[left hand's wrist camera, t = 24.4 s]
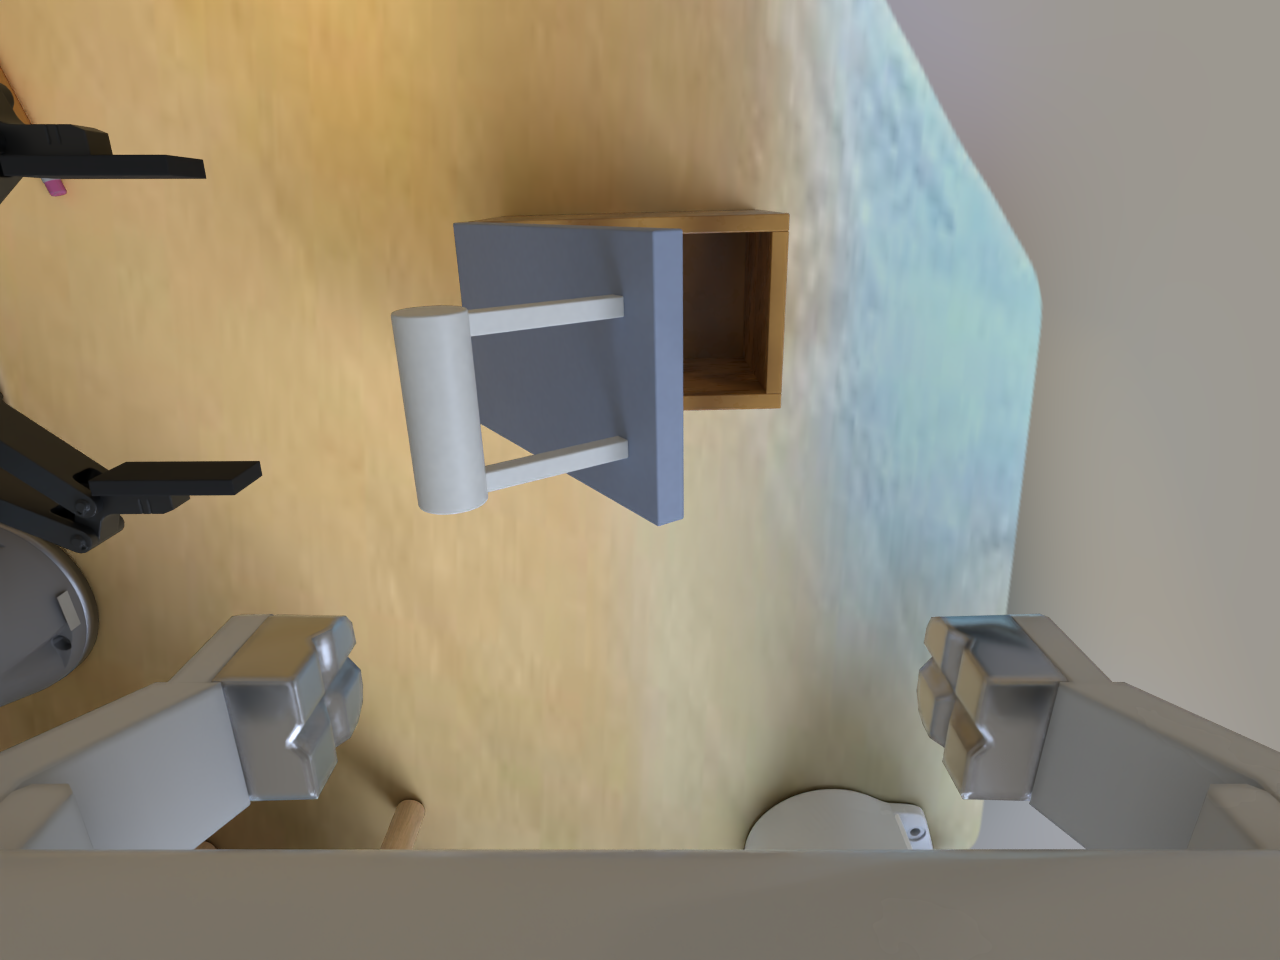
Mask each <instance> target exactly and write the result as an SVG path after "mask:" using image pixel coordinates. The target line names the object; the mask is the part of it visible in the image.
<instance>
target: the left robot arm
mask: <svg viewBox="0 0 1280 960" xmlns="http://www.w3.org/2000/svg"><path fill="white" fill-rule="evenodd" d="M355 644H356V640H355V635H354V630H353V625H352V622H351V621H350V620H349V619H348V618H347V617H346V616H329V615H279V614H277V615H273V614H242V615H237V616H232V617H231V618H230V619H229V620H228V621H227V622H226V623H225V624H224V625H223V626H222V627H221V628H220V629H219V630H218V631H217V632H216V633H215V634H214V635H213V636H212V637H211V638H210V639H209V640H208V641H207V642H206V643H205V645H204V646H203V647H202V648H201V649H200V650H199V651H198V652H197V653H196V654H195V655H194V656H193V657H192V658H191V659H190V660H189V661H188V662H187V663H186V664H185V665H184V666H183V667H182V668H181V669H180V670H179V671H178V672H177V673H176V674H175V675H174V676H173V677H172V678H171V679H170V680H169V681H168V682H155V683H153V684H151V685H148V686H146V687H144V688H142V689H139V690H137V691H135V692H133V693H131V694H128V695H126V696H124V697H122V698H119V699H117V700H115V701H113V702H111V703H108V704H106V705H104V706H102V707H99V708H97V709H95V710H93V711H91V712H88V713H86V714H84V715H82V716H80V717H77V718H75V719H73V720H71V721H68V722H66V723H64V724H62V725H60V726H57V727H55V728H53V729H51V730H48V731H46V732H44V733H42V734H40V735H37V736H35V737H33V738H31V739H28V740H26V741H24V742H22V743H20V744H17V745H15V746H13V747H11V748H8V749H6V750H4V751H2V752H0V960H1280V752H1278V751H1276V750H1273V749H1271V748H1269V747H1267V746H1264V745H1262V744H1260V743H1258V742H1256V741H1253V740H1251V739H1249V738H1247V737H1245V736H1242V735H1240V734H1238V733H1236V732H1233V731H1231V730H1229V729H1227V728H1225V727H1222V726H1220V725H1218V724H1216V723H1214V722H1211V721H1209V720H1207V719H1205V718H1202V717H1200V716H1198V715H1196V714H1194V713H1191V712H1189V711H1187V710H1185V709H1183V708H1180V707H1178V706H1176V705H1174V704H1172V703H1169V702H1167V701H1165V700H1163V699H1160V698H1158V697H1156V696H1154V695H1152V694H1149V693H1147V692H1145V691H1143V690H1141V689H1138V688H1136V687H1134V686H1132V685H1129V684H1127V683H1125V682H1112V681H1111V680H1110V679H1109V678H1108V677H1107V676H1106V675H1105V674H1104V673H1103V672H1102V671H1101V670H1100V669H1099V668H1098V667H1097V666H1096V665H1095V664H1094V663H1093V662H1092V661H1091V660H1090V659H1089V658H1088V657H1087V656H1086V655H1085V654H1084V653H1083V652H1082V650H1081V649H1080V648H1079V647H1078V646H1077V645H1076V644H1075V643H1074V642H1073V641H1072V640H1071V639H1070V638H1069V637H1068V636H1067V635H1066V634H1065V633H1064V632H1063V631H1062V630H1061V629H1060V628H1059V627H1058V626H1057V625H1056V624H1055V623H1054V622H1053V621H1052V620H1051V619H1050V618H1049V617H1047V616H1044V615H1042V614H1018V615H987V616H947V617H931V619H930V621H929V623H928V626H927V628H926V634H925V639H924V644H925V646H926V647H927V649H928V650H929V652H930V654H931V655H932V658H931V659H930V660H929V661H928V662H927V663H926V664H925V665H924V666H923V667H922V668H921V669H920V670H919V677H918V685H917V699H918V710H919V713H920V717H921V720H922V723H923V726H924V728H925V730H926V732H927V734H928V736H929V737H930V738H931V739H932V740H934V741H935V742H937V743H938V744H940V745H941V746H943V747H944V748H945V749H944V755H943V760H942V762H943V764H944V766H945V767H946V769H947V771H948V773H949V775H950V777H951V778H952V780H953V782H954V784H955V786H956V788H957V789H958V791H959V793H960V795H961V797H962V799H978V800H1015V801H1030V802H1029V804H1030V805H1031V806H1032V807H1034V808H1035V809H1036V810H1038V811H1039V812H1040V813H1041V814H1043V815H1044V816H1045V817H1046V818H1048V819H1049V820H1050V821H1052V822H1053V823H1054V824H1055V825H1056V826H1058V827H1059V828H1060V829H1062V830H1063V831H1064V832H1065V833H1067V834H1068V835H1069V836H1070V837H1072V838H1073V839H1074V840H1075V841H1077V842H1078V843H1079V844H1080V845H1082V846H1083V847H1084V848H1086V849H989V850H988V849H982V850H981V849H974V850H973V849H933V846H932V842H931V837H930V833H929V829H928V825H927V821H926V818H925V815H924V812H923V810H922V809H921V808H920V807H918V806H916V805H911V804H901V803H887V802H884V801H881V800H878V799H876V798H873V797H871V796H869V795H866V794H863V793H860V792H856V791H851V790H843V789H823V790H815V791H810V792H805V793H802V794H799V795H796V796H793V797H790V798H788V799H786V800H784V801H782V802H780V803H779V804H777V805H775V806H774V807H772V808H771V809H770V810H768V811H767V812H766V813H765V814H764V815H763V816H762V817H761V818H760V819H759V820H758V821H757V822H756V824H755V825H754V826H753V828H752V830H751V831H750V833H749V835H748V838H747V841H746V845H745V850H482V849H195V848H196V847H197V846H199V845H200V844H201V843H202V842H204V841H205V840H206V839H207V838H209V837H210V836H211V835H212V834H214V833H215V832H216V831H217V830H219V829H220V828H221V827H223V826H224V825H225V824H226V823H228V822H229V821H230V820H231V819H233V818H234V817H235V816H236V815H238V814H239V813H240V812H242V811H243V810H244V809H245V808H247V807H248V806H249V805H250V804H251V803H250V801H265V800H300V799H318V797H319V795H320V793H321V791H322V790H323V788H324V786H325V784H326V782H327V780H328V778H329V777H330V775H331V773H332V771H333V769H334V767H335V766H336V764H337V762H338V760H337V755H336V749H335V748H336V747H337V746H339V745H340V744H342V743H343V742H345V741H346V740H348V739H349V738H350V737H351V736H352V734H353V732H354V730H355V728H356V726H357V724H358V721H359V716H360V712H361V707H362V703H363V682H362V676H361V670H360V669H359V668H358V667H357V666H356V665H355V664H354V663H353V662H352V661H351V660H350V659H349V658H348V655H349V654H350V652H351V650H352V649H353V647H354V646H355Z"/></svg>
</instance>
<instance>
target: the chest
mask: <svg viewBox="0 0 1280 960" xmlns="http://www.w3.org/2000/svg"><path fill="white" fill-rule="evenodd" d="M789 217H790V215H789V214H788V213H780V212H772V211H763V210H728V211H690V212H652V213H614V214H576V215H538V216H504V217H497V218H491V219H484V220H478V221H471V222H492V223H523V224H553V225H584V226H615V227H646V228H676V229H682V231H683V411H687V410H729V409H771V408H781V391H782V369H783V348H784V326H785V305H786V283H787V261H788V240H789V231H788V230H789Z"/></svg>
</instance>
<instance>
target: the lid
mask: <svg viewBox="0 0 1280 960" xmlns="http://www.w3.org/2000/svg"><path fill="white" fill-rule="evenodd" d="M453 227H454V236H455V245H456V254H457V263H458V272H459V281H460V290H461V299H462V307H461V306H446V305H443V306H422V307H413V308H406V309H401V310H397V311H394V312H392V313H391V320H392V327H393V334H394V341H395V347H396V354H397V361H398V368H399V375H400V382H401V389H402V395H403V402H404V409H405V416H406V423H407V430H408V437H409V443H410V450H411V457H412V464H413V471H414V478H415V485H416V491H417V498H418V505H419V507H420V508H421V509H422V510H423V511H425V512H428V513H432V514H443V515H444V514H457V513H462V512H467V511H470V510H473V509H476V508H478V507H480V506H481V505H483V504H484V503H485V502H486V501H487V499H488V492H491V491H495V490H499V489H503V488H507V487H511V486H515V485H519V484H523V483H527V482H531V481H535V480H539V479H543V478H547V477H552V476H556V475H560V474H564V473H567V474H569V475H570V476H572V477H574V478H575V479H577V480H579V481H581V482H582V483H584V484H586V485H588V486H589V487H591V488H593V489H595V490H596V491H598V492H600V493H601V494H603V495H605V496H607V497H608V498H610V499H612V500H614V501H615V502H617V503H619V504H620V505H622V506H624V507H626V508H627V509H629V510H631V511H633V512H634V513H636V514H638V515H640V516H641V517H643V518H645V519H646V520H648V521H650V522H652V523H653V524H655V525H657V526H661V525H664V524H667V523H670V522H673V521H677V520H680V519H683V517H684V494H683V231H682V229H676V228H646V227H615V226H584V225H553V224H523V223H492V222H461V223H453ZM480 424H482V425H484V426H485V427H487V428H489V429H491V430H492V431H494V432H496V433H498V434H499V435H501V436H503V437H504V438H506V439H508V440H510V441H511V442H513V443H515V444H517V445H518V446H520V447H522V448H524V449H525V450H527V451H529V452H530V453H532V454H534V455H532V456H527V457H523V458H518V459H514V460H509V461H505V462H501V463H496V464H492V465H487V466H485V463H484V454H483V445H482V435H481V426H480Z"/></svg>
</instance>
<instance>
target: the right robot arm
mask: <svg viewBox="0 0 1280 960" xmlns="http://www.w3.org/2000/svg"><path fill="white" fill-rule="evenodd" d="M13 106H14V97H13V95H12V93H11V91H10V90H9V89H8V88H7V87H6V86H5V85H3V84H2V83H0V204H1V203H2V201H3V200H4V199H5V198H6V197H7V195H8V194H9V193H10V192H11V191H12V189H13V188H14V187H15V186H16V185H17V183H18V182H19V181H20V180H21V179H22V177H34V178H50V179H206V174H205V169H204V163H203V160H201V159H193V158H186V157H178V156H170V155H113V154H112V150H111V145H110V141H109V136H108V133H105V132H103V131H100V130H98V129H95V128H90V127H84V126H77V125H71V124H24V123H23V122H22V121H21V120H20V119H19V118H18V116H17V115H16V114H15V112H14V110H13ZM2 399H3V395H2V393H1V392H0V707H1V706H4V705H6V704H9V703H11V702H14V701H16V700H19V699H21V698H24V697H26V696H29V695H31V694H34V693H36V692H39V691H41V690H43V689H45V688H47V687H49V686H51V685H53V684H54V683H56V682H57V681H59V680H61V679H62V678H64V677H65V676H67V675H68V674H69V673H70V672H71V671H73V670H74V669H75V668H76V667H77V666H78V665H80V664H81V663H82V662H83V661H84V660H85V659H86V657H87V656H88V655H89V653H90V652H91V650H92V648H93V646H94V644H95V641H96V638H97V634H98V625H99V618H98V610H97V605H96V601H95V598H94V595H93V593H92V590H91V588H90V586H89V584H88V582H87V580H86V579H85V577H84V575H83V574H82V572H81V571H80V570H79V568H78V567H77V566H76V564H75V563H74V562H73V561H72V560H71V559H70V558H69V556H68V555H67V554H66V553H65V552H64V551H62V550H61V549H60V548H59V547H58V546H57V545H59V546H61V547H64V548H67V549H69V550H72V551H74V552H78V553H86V552H87V551H89V550H91V549H92V548H94V547H96V546H97V545H99V544H101V543H102V542H104V541H105V540H107V539H109V538H110V537H112V536H113V535H115V534H116V533H118V532H120V531H121V530H122V529H123V528H124V520H123V518H122V517H121V516H120V514H143V513H144V514H151V513H152V514H164V513H167V512H169V511H171V510H174V509H175V508H177V507H178V506H180V505H181V504H183V503H184V502H186V501H188V500H189V499H190V496H189V495H236V494H237V493H238V492H240V491H241V490H243V489H244V488H245V487H247V486H248V485H250V484H251V483H252V482H254V481H255V480H257V479H258V478H259V477H261V476H262V471H261V466H260V461H196V462H125V463H123V464H121V465H119V466H117V467H115V468H113V469H111V470H107V469H106V468H104V467H103V466H101V465H100V464H98V463H97V462H95V461H93V460H92V459H90V458H89V457H87V456H86V455H84V454H83V453H81V452H80V451H78V450H77V449H75V448H74V447H72V446H70V445H69V444H67V443H66V442H64V441H63V440H61V439H60V438H58V437H57V436H55V435H54V434H52V433H50V432H49V431H47V430H46V429H44V428H43V427H41V426H40V425H38V424H37V423H35V422H34V421H32V420H30V419H29V418H27V417H26V416H24V415H23V414H21V413H20V412H18V411H17V410H15V409H14V408H12V407H10V406H9V405H7V404H6V403H5V402H3V400H2Z"/></svg>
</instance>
